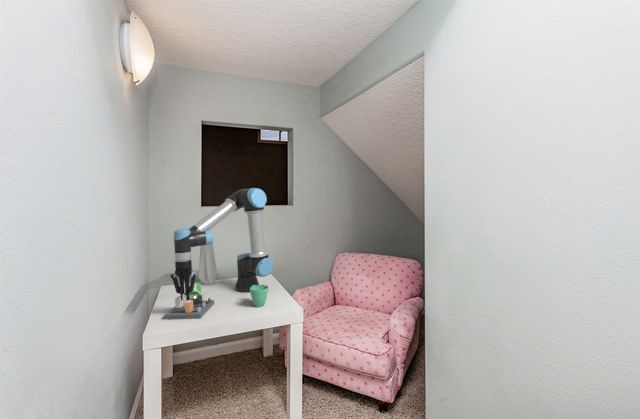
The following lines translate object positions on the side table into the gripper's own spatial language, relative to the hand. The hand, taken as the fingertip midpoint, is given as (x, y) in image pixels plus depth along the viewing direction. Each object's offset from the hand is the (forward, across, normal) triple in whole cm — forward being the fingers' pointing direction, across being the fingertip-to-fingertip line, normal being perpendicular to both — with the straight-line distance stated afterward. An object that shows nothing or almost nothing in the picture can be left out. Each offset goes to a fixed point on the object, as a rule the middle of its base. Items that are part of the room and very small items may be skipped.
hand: (185, 306), depth 156 cm
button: (+2, +1, -13) cm, 14 cm away
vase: (+5, +8, -58) cm, 59 cm away
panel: (+5, 0, -6) cm, 8 cm away
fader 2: (+3, -2, 0) cm, 3 cm away
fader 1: (+3, +6, -7) cm, 10 cm away
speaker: (+5, +6, -26) cm, 28 cm away
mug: (+5, -34, -13) cm, 37 cm away
